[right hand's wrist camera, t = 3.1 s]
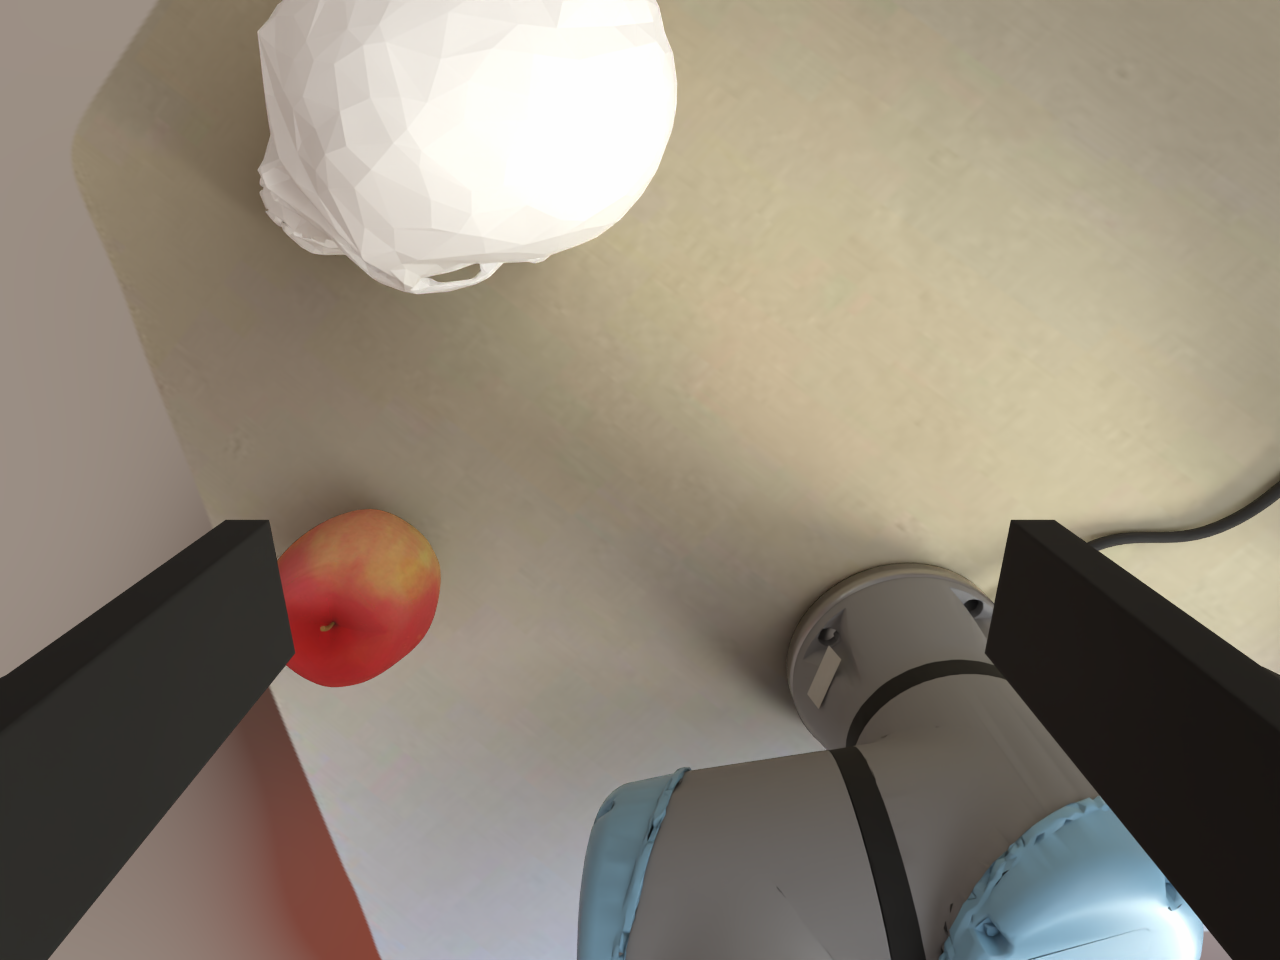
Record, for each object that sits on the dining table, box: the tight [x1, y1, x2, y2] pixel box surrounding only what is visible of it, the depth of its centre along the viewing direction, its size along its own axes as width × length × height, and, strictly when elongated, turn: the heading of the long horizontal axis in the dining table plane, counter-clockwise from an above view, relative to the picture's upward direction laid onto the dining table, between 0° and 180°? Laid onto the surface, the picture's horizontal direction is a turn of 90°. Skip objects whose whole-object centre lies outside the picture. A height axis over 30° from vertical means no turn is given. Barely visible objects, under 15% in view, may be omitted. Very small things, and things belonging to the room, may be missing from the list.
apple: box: [277, 509, 441, 687], centre depth 42 cm, size 10×10×10 cm
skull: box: [257, 0, 677, 294], centre depth 31 cm, size 13×22×16 cm, turn 113°
